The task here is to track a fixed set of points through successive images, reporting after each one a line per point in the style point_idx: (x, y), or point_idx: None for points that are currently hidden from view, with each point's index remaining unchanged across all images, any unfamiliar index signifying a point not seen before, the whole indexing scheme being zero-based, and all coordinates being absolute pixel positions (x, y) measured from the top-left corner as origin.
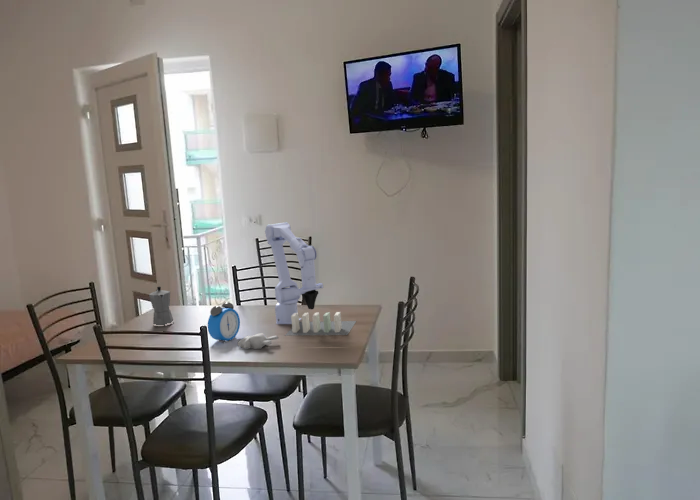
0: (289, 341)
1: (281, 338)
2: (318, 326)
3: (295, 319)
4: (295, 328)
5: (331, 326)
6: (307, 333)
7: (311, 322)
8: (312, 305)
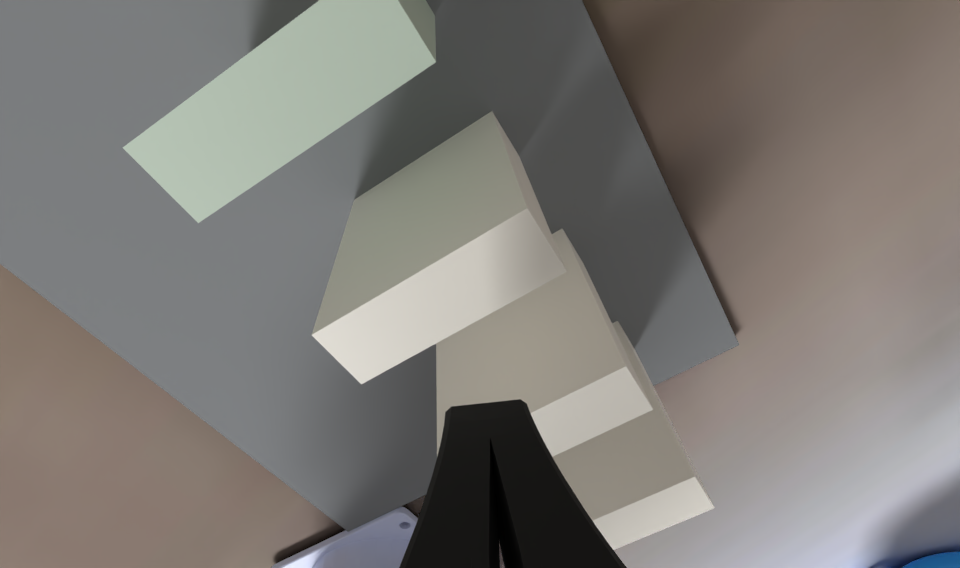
0: (879, 171)
1: (801, 317)
2: (429, 172)
3: (659, 437)
4: (634, 354)
5: None
6: (589, 192)
7: (273, 441)
8: (529, 463)
